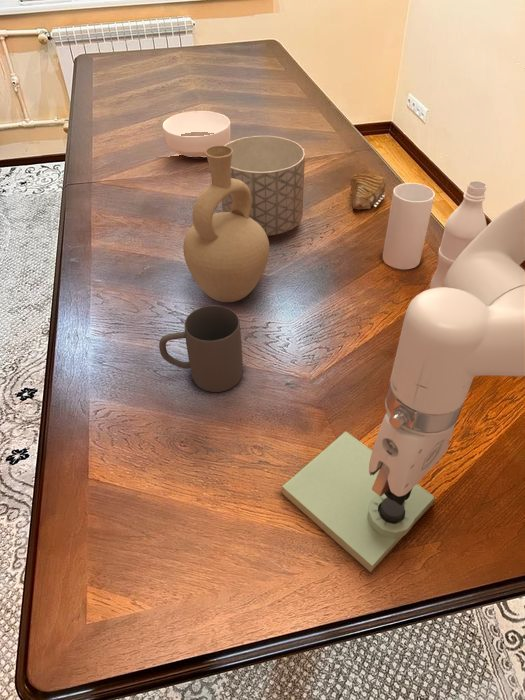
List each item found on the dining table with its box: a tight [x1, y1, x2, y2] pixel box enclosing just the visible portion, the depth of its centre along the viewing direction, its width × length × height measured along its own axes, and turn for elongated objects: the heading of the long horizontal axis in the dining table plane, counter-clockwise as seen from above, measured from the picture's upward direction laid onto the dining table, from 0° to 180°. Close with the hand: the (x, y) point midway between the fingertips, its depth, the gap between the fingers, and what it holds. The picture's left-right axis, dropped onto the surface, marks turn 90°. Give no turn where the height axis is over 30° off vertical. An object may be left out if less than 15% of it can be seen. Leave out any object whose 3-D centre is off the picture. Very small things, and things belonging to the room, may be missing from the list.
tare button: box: [380, 497, 405, 523], centre depth 71 cm, size 3×3×2 cm
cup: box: [382, 182, 436, 270], centre depth 114 cm, size 8×8×16 cm
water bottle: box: [428, 180, 488, 289], centre depth 100 cm, size 7×7×25 cm
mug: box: [158, 304, 244, 393], centre depth 90 cm, size 14×9×12 cm
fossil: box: [349, 173, 387, 210], centre depth 136 cm, size 12×6×9 cm
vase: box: [182, 146, 270, 303], centre depth 101 cm, size 17×17×30 cm
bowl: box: [162, 110, 231, 159], centre depth 159 cm, size 20×20×8 cm
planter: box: [221, 135, 306, 237], centre depth 124 cm, size 19×19×18 cm
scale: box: [281, 431, 436, 573], centre depth 75 cm, size 16×14×4 cm
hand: (394, 494), depth 68 cm, fingers closed
